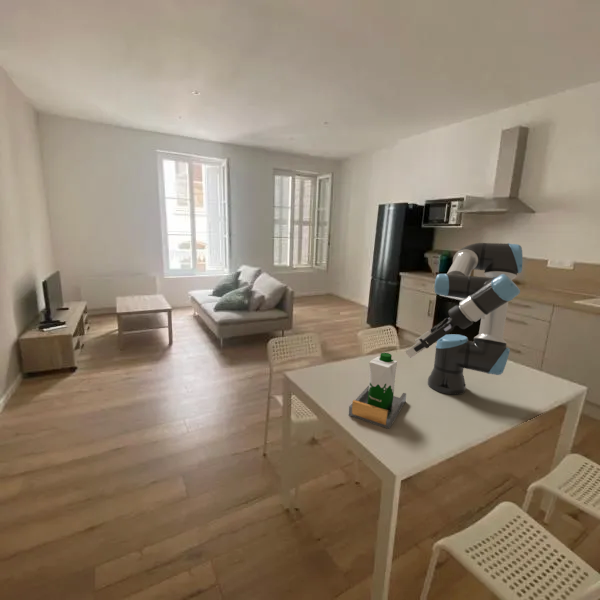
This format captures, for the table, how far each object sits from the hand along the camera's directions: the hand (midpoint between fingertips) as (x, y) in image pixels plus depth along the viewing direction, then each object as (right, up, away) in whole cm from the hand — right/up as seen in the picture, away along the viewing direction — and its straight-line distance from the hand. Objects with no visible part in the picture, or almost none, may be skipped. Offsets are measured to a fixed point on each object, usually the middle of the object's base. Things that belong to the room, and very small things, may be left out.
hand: (412, 348), depth 112 cm
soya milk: (-9, -24, +11) cm, 27 cm away
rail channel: (-9, -24, +11) cm, 28 cm away
